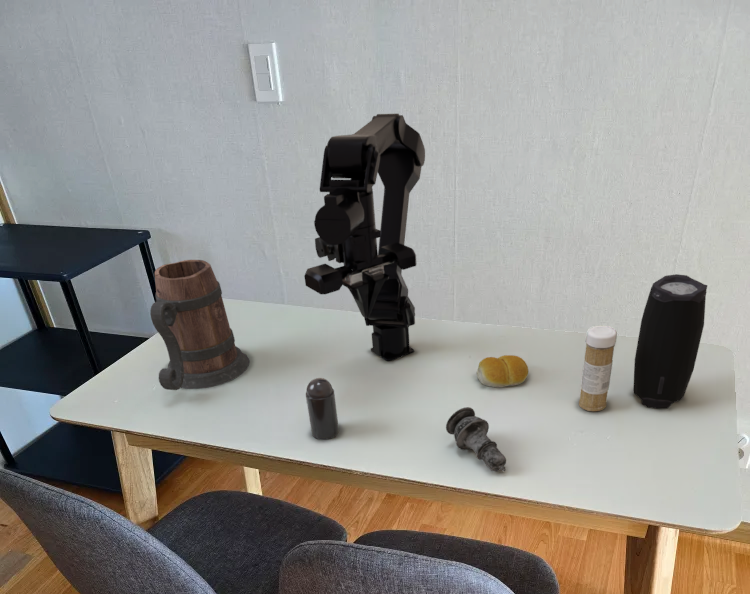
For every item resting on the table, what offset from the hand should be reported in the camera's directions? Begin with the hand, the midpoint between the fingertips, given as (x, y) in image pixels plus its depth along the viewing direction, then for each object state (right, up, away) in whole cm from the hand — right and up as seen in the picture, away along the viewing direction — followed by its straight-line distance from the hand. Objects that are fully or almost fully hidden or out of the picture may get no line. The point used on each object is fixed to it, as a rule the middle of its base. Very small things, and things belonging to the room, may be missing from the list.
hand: (365, 316), depth 120 cm
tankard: (-33, -7, +16) cm, 37 cm away
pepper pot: (-7, -20, -4) cm, 22 cm away
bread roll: (+25, -10, +6) cm, 27 cm away
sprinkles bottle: (+38, -16, -4) cm, 41 cm away
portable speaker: (+49, -15, -3) cm, 51 cm away
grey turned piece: (+15, -19, -11) cm, 27 cm away
